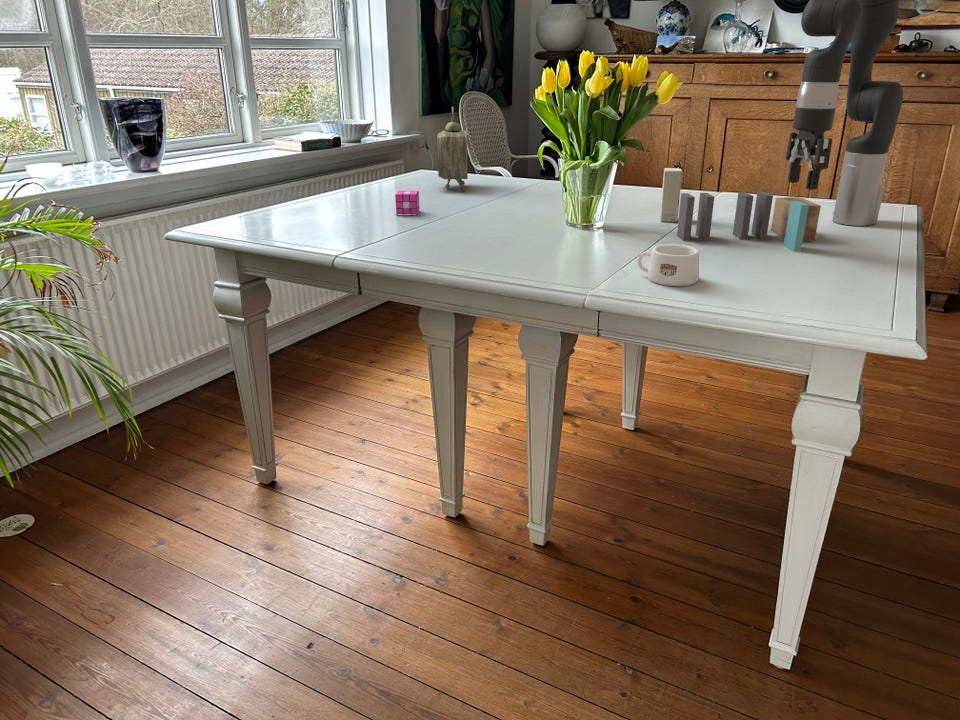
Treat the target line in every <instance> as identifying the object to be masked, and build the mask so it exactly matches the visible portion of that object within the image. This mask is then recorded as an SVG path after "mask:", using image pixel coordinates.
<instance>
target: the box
mask: <svg viewBox="0 0 960 720" xmlns="http://www.w3.org/2000/svg"><path fill="white" fill-rule="evenodd" d="M682 174H683V170H682V168H677V167H676V168H675V167H673V168H671V167H665V168H663V177H662V178H663V179H662V190H661V202H660V216H659V221H660V222H669V223H671V222H672V223H674V222H675V223H676V222H677V223H678V219H679V209H680V199H681V186H682V185H681V184H682V176H683V175H682Z"/></svg>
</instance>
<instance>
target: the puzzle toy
mask: <svg viewBox="0 0 960 720" xmlns="http://www.w3.org/2000/svg"><path fill="white" fill-rule="evenodd" d="M394 196H395V211H396V213H395V214H418V215H419V213H420V211H419V210H421V209H420V191H419V190H398V191H397V192H396V193H395V195H394ZM418 212H419V213H418Z"/></svg>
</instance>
